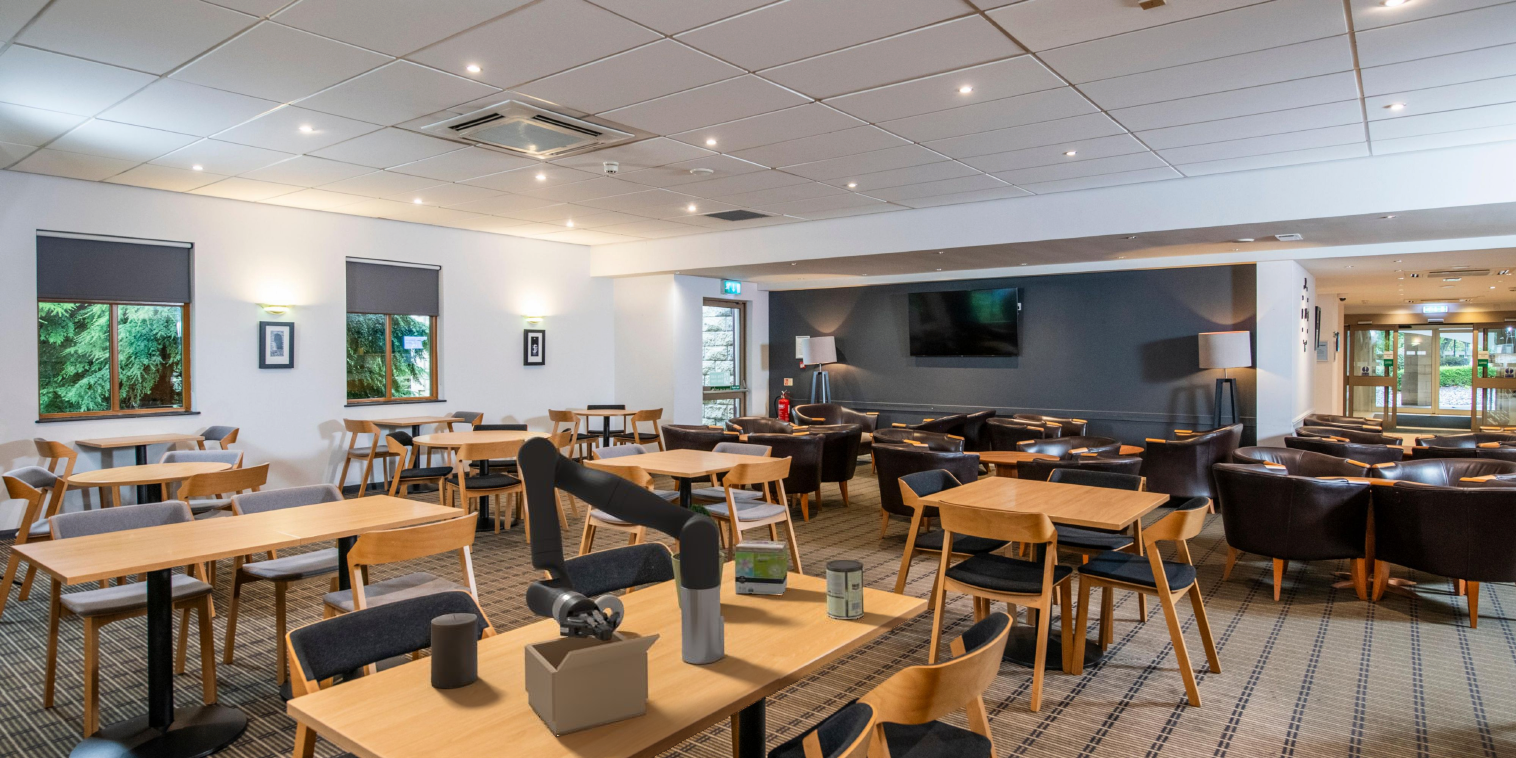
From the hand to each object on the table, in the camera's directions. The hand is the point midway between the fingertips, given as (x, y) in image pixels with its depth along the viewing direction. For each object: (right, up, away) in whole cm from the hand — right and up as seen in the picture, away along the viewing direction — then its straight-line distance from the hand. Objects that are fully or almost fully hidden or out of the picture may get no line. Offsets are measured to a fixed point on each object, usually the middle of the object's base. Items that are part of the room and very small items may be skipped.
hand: (607, 635), depth 151 cm
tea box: (+30, -17, +97) cm, 103 cm away
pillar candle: (-39, -19, +26) cm, 50 cm away
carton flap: (0, -3, -1) cm, 3 cm away
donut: (-11, -18, +58) cm, 61 cm away
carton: (-6, -18, +10) cm, 21 cm away
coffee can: (+53, -17, +71) cm, 90 cm away
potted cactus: (+11, -18, +81) cm, 83 cm away
